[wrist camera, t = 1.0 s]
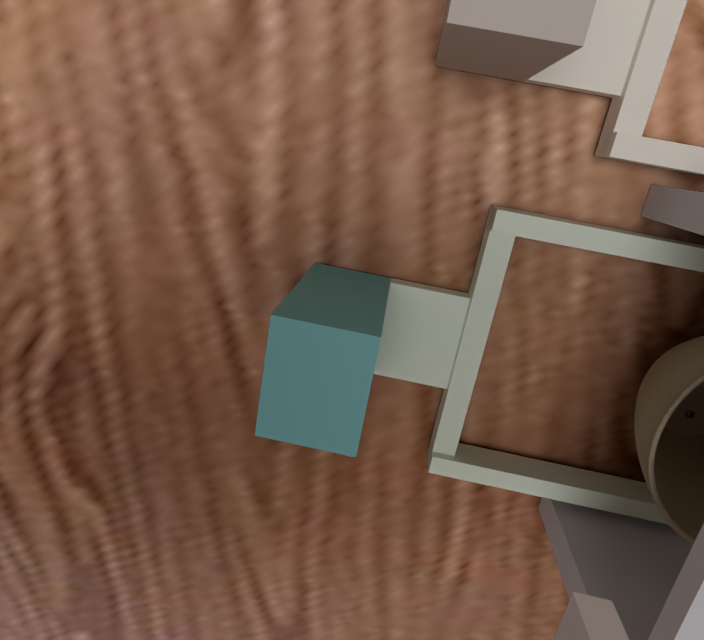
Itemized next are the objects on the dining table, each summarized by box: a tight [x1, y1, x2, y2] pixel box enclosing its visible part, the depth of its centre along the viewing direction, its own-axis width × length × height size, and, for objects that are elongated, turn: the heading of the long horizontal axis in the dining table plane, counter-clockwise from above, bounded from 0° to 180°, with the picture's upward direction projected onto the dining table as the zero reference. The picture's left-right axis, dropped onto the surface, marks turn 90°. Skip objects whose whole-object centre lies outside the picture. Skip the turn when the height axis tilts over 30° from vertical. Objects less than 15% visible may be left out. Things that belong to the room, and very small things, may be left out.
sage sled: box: [255, 205, 704, 525], centre depth 23 cm, size 28×14×9 cm, turn 80°
